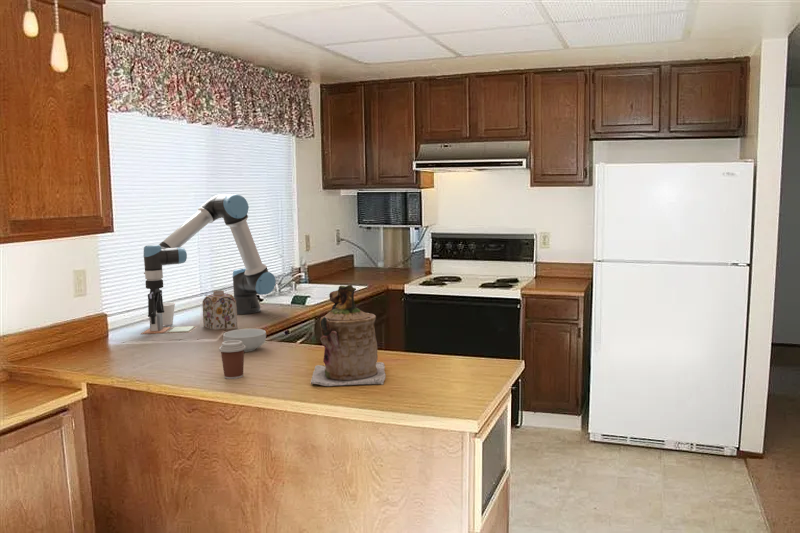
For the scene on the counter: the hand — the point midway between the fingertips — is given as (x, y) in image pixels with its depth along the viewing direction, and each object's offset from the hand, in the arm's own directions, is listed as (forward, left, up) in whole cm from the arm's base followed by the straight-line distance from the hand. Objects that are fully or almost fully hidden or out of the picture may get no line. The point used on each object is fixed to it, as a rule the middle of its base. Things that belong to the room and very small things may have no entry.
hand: (157, 328), depth 319 cm
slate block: (0, 0, 0) cm, 0 cm away
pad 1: (0, 0, -1) cm, 1 cm away
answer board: (-6, 0, -2) cm, 6 cm away
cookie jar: (-89, +87, -2) cm, 124 cm away
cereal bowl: (-47, +40, -2) cm, 61 cm away
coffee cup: (-50, +81, -2) cm, 95 cm away
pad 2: (-11, 0, -1) cm, 11 cm away
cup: (0, -15, -2) cm, 15 cm away
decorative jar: (-28, -5, -2) cm, 28 cm away
